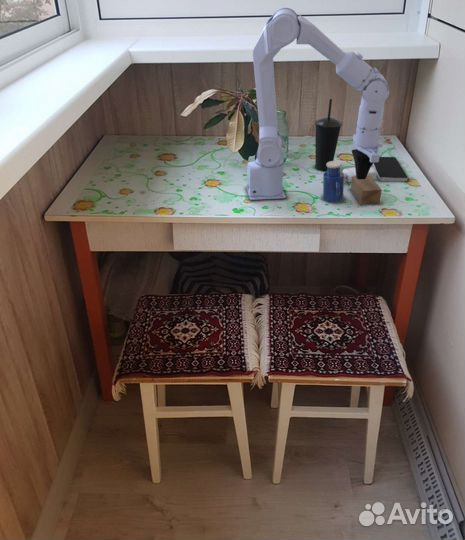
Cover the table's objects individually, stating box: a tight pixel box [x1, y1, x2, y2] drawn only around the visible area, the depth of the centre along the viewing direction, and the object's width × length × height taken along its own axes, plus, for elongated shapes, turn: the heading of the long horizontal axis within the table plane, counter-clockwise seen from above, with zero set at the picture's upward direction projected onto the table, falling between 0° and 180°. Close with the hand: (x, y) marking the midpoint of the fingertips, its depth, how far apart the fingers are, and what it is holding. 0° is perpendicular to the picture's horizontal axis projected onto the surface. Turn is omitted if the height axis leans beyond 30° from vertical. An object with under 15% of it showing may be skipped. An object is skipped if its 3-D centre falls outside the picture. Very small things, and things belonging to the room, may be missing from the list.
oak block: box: [349, 176, 382, 206], centre depth 132 cm, size 5×9×4 cm, turn 6°
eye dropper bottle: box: [342, 166, 377, 184], centre depth 141 cm, size 4×6×12 cm
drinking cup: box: [314, 98, 343, 172], centre depth 144 cm, size 8×8×20 cm
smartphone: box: [371, 156, 409, 182], centre depth 147 cm, size 8×1×15 cm
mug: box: [322, 160, 345, 203], centre depth 129 cm, size 9×7×10 cm
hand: (360, 178), depth 130 cm, fingers closed
